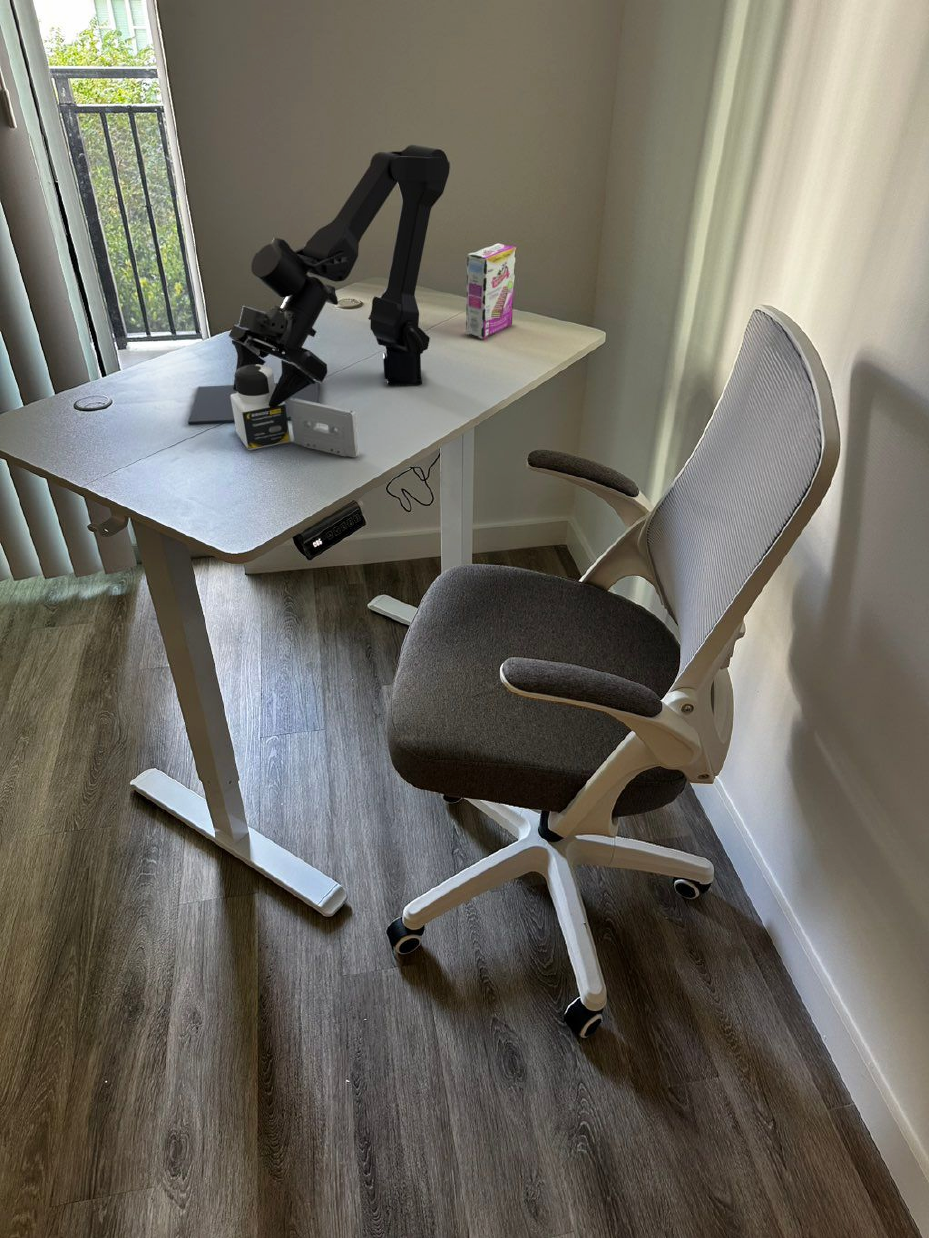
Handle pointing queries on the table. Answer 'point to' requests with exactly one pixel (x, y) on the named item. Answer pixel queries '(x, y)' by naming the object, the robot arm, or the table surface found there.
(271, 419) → the medicine bottle
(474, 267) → the candy bar box
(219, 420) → the desk mat
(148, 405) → the table surface
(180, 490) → the table surface
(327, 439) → the cassette
